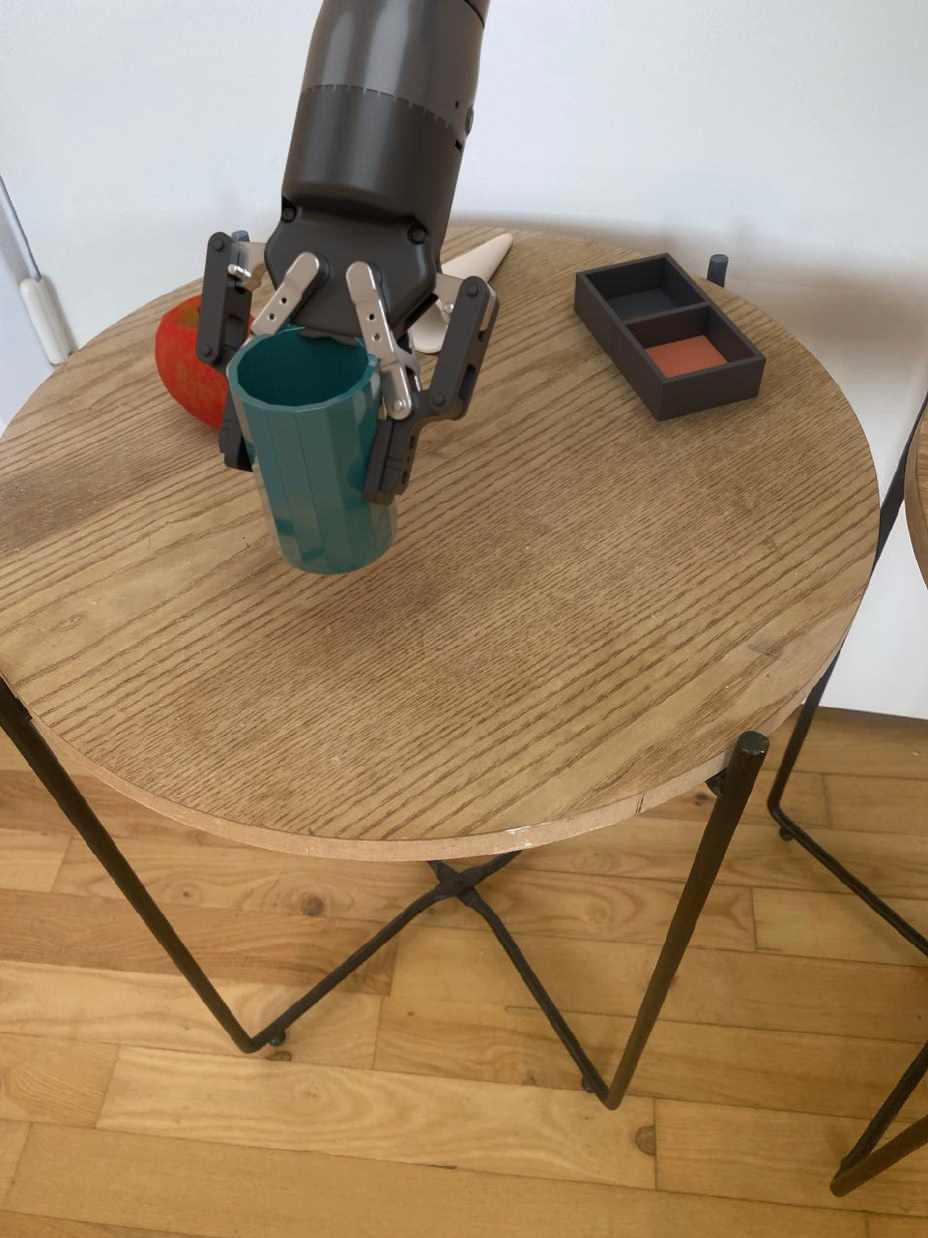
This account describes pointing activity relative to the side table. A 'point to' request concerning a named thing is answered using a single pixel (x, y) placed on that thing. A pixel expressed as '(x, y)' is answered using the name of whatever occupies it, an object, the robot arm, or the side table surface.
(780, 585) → the side table surface
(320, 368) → the cutlery cup
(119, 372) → the side table surface
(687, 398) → the divided tray
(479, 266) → the long cone
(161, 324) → the apple
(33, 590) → the side table surface
